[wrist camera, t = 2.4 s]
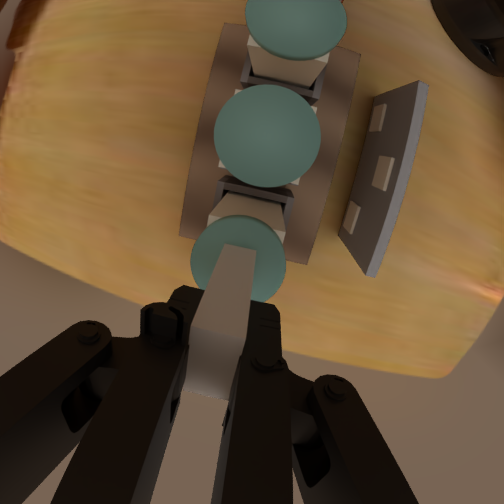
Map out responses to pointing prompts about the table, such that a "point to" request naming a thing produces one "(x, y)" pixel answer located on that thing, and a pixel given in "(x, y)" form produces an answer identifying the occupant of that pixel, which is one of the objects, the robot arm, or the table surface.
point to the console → (290, 195)
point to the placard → (383, 173)
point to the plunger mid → (267, 135)
